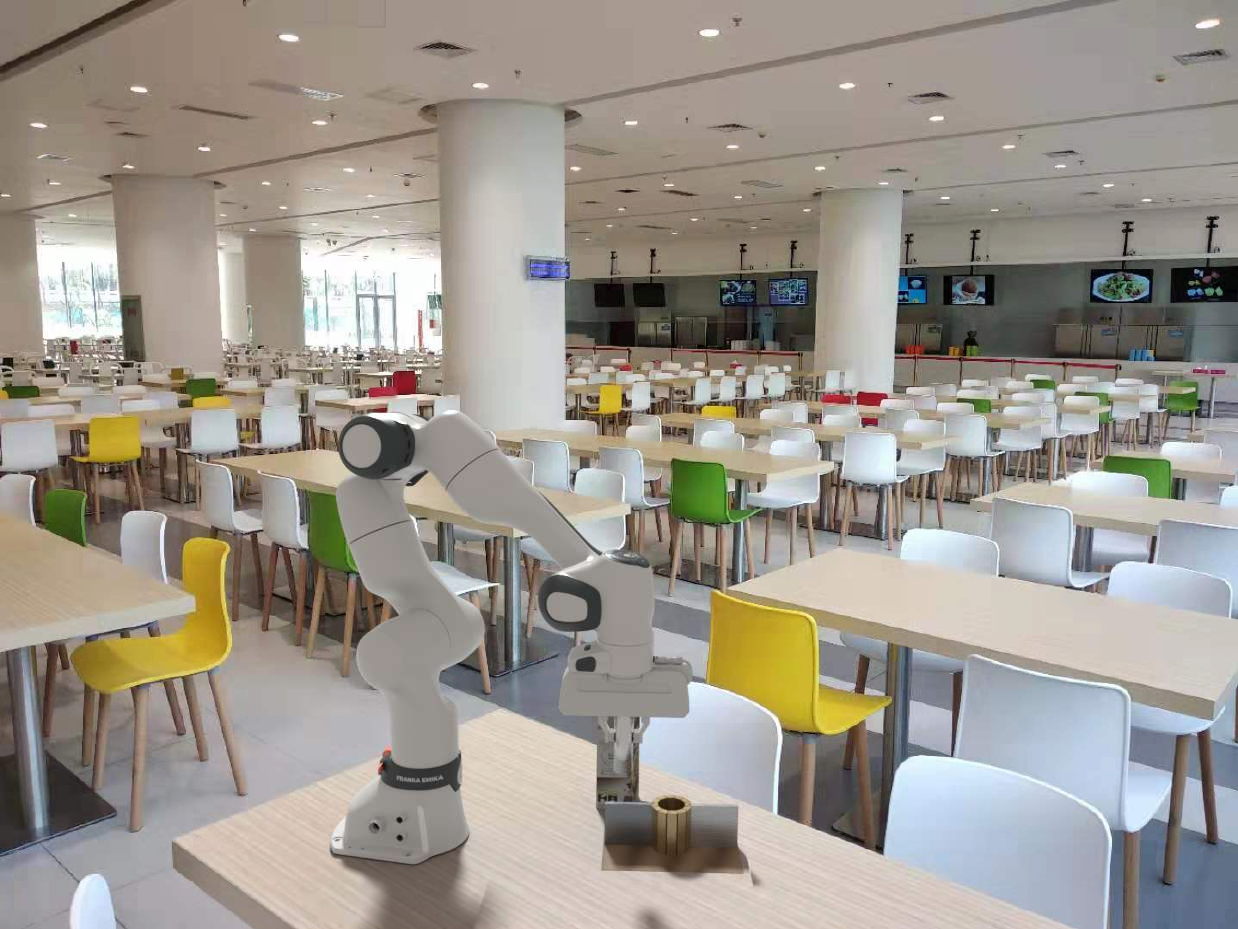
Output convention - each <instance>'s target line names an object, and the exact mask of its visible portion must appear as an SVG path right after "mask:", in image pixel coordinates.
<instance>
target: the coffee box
mask: <svg viewBox="0 0 1238 929" xmlns="http://www.w3.org/2000/svg"><path fill="white" fill-rule="evenodd" d="M640 723H641V717H634V729H639V727H640V725H641V724H640ZM607 724H608V726H609V728H614V716H607ZM596 731H597V732H596V736H597V739H596V786H595V787H596V788H595V789H596V790H595V791H596V792H595V796H596V799H595V808H596V809H600V810H605V801H607V802H638V799H639V797H640V796H639V794H640V790H639V789H640V744H639V743H633V771H632V772H631V773H629V774H618V773H615V772H614V743H605V733H604V731H603V730H602V728H601V726H600V725H599V724H598V726H597V730H596Z"/></svg>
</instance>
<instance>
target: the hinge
mask: <svg viewBox="0 0 1238 929" xmlns="http://www.w3.org/2000/svg"><path fill="white" fill-rule="evenodd" d="M604 831H605V841H604V840H603V841H604V845H643V846H651V847H652V848H653V849H654V850H655V851H656V852H658V853H661V854H664V855H666V854H667V855H680V854H683V853H685V852H687V851H688V850H689V849H690V848H691V847H727V848H737V842H738V836H739V835H738V834H739V832H738V831H739V804H735V803H733V804H727V803H726V804H725V803H692V802H691V801H690V800H689V799H687V798H686V797H684V796H680V795H676V794H663V795H660V796H656V797H654V799H652V800H651V802H649V801H647V802H643V801H640V802H639V801H634V802H607V801H605V809H604Z"/></svg>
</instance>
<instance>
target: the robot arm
mask: <svg viewBox="0 0 1238 929" xmlns="http://www.w3.org/2000/svg"><path fill="white" fill-rule="evenodd" d="M337 443H338V445H337V448H338V449H337V450H338V455H339V458H340V460H341V462H342V464H343V465H344V467H345V468H346V469H347V470H348V471H349V472H351V473H350V474H349V475H346V477H344V478H343V479H342V480H341V481H340V482H339V483H338V485H337V487H336V491H335V499H336V505H337V506H336V507H337V511H338V517H339V520H340V524H341V528H342V531H343V535H344V537H345V540H346V542H347V545H348V548H349V551H350V552H351V555H352V558H353V560H354V563H355V566H356V568H357V571H358V573H359V576H360V579H361V581H362V584H363V585H364V588H366V590H367V591H368V592H370V593H372V594H373V595H376V596H379V597H381V598H383V599H384V600H385V601H387V602H388V603H389V604H390V605H391V606H392V607H393V609H394V610H395V611H396V613H397V614H398V615H397V616H394V617H392V618H389V619H387V620H384V621H382V622H381V623H379V624H378V625H376V626H375V627H374V628H372V629H371V630H370V631H368V632H366V634H364V635H363V636H361V637H362V638H360V640H359V642H358V644H357V647H356V656H355V658H356V665H357V668H358V671H359V673H360V675H361V677H362V678H363V679H364V681H365V682H366V683H367V684H369V685H370V686H371V687H372V688H374V689H376V690H377V691H379V693H380V694H381V696H382V697H383V699H384V701H385V704H386V707H387V710H388V716H389V725H390V729H389V730H390V745H387V746H386V747H385V749H384V750H383V752H382V757H381V759H380V760H379V765H378V767H377V774H378V776H377V777H376V778H374V779H373V780H371V781H370V782H369V783H367V784H366V785H363V787H362V788H361V789H360V790H358V791H357V792H356V793H355V795H354V796H353V797H352V799H351V801H350V803H349V805H348V808H347V811H346V815H345V816H344V817H343V818H342V819H341V820H340V821H339V823H338V824H337V825H336V826H335V828H334V830H333V832H332V834H331V837H330V849H331V852H332V853H333V854H337V855H341V856H347V857H348V856H349V857H357V858H362V859H363V858H364V859H372V860H377V861H378V860H379V861H386V862H394V863H400V864H408V865H418V864H420V863H423V862H424V861H426V860H428V859H430V858H431V857H433V856H437V855H440V854H443V853H446V852H449V851H451V850H453V849H456V848H457V847H458V846H459V847H460V845H461V844H463V843H464V842H465V841H466V840H467V839H468V837H469V834H470V826H469V824H468V822H467V818H466V813H465V809H464V805H463V804H464V803H463V796H462V789H461V786H462V782H463V761H462V752H461V749H460V746H459V745H460V744H459V709H458V707H457V705H456V703H455V702H454V701H453V700H452V699H450V698H449V697H447V696H445V695H443V692H442V691H441V690H442V689H441V687H440V674H441V672H442V671H444V670H446V669H448V668H450V667H453V666H454V665H457V664H459V663H460V662H463V661H464V660H465V659H467V658H468V657H469V656H470V655H471V654H472V653H474V652H475V651H476V650H477V649H478V648H479V647H480V645H482V643H483V641H484V638H485V632H486V630H485V629H486V626H485V621H484V618H483V615H482V613H481V611H480V609H478V608H477V606H476V605H474V604H473V603H472V602H470V601H468V600H467V599H464V598H462V597H460V596H459V595H458V594H456V593H455V592H454V591H453V590H452V589H451V588H450V586H449V585H448V584H447V583H445V581H444V580H443V579H442V577H441V576H440V574H438V572H437V571H436V569H435V568H434V567H433V564H432V563H431V561H430V559H429V557H428V555H427V552H426V551H425V548H424V545H423V544H422V541H421V539H420V537H419V535H418V532H417V529H416V527H415V524H414V522H413V519H412V517H411V514H410V512H409V510H408V507H407V505H406V500H405V498H404V495H405V492H404V491H405V488H406V487H414V486H416V485H417V483H419V481H420V480H421V479H423V477H425V476H426V475H428V473H430V474H432V476H433V477H434V478H435V479H436V480H437V481H438V483H439V485H440V486H441V487H442V488H443V490H444V491H445V492H446V493H447V494H448V496H449V497H450V498H451V499H452V502H454V504H455V505H456V506H457V507H458V508H459V509H460V510H461V511H462V512H463V513H465V514H466V515H467V516H468V517H469V518H471V520H473V521H475V522H477V523H482V524H484V525H485V524H486V525H495V526H503V527H506V528H507V527H508V528H512V529H514V530H517V531H520V532H522V533H524V534H526V535H528V536H529V537H531V538H532V539H533V540H534V541H535V542H536V543H537V544H538V546H540V547H541V548H542V549H543V551H545V553H546V554H547V555H548V556H549V557H550V558H551V559H552V560H553V561H554V563H555V564H556V565H557V566H558V567H559V569H560V570H559V571H557V572H555V573H553V574H552V575H550V576H549V577H547V578H546V579H544V581H543V582H542V584H541V585H540V587H539V589H538V594H537V604H538V609H539V612H540V615H541V616H542V618H543V620H544V621H545V622H546V623H547V625H549V626H550V627H552V629H555V630H557V631H558V632H563V633H576V632H577V633H579V632H588V631H594V632H595V634H596V640H593V641H589V642H586V643H582V644H580V645H576V646H574V647H572V648H571V649H570V650H569V652H568V656H567V667H566V668H565V671H564V673H563V676H562V681H561V686H560V692H559V698H558V699H559V700H558V709H559V711H560V712H561V713H562V714H563V715H564V716H583V717H585V716H587V717H597V723H598V726H599V725H600V726H601V728H602V730H603V731H604V733H605V743H614V728H609V726H608V724H607V716H620V717H640V723H641V724H640V727H639V729H634V732H633V743H639V745H640V744H641V745H642V744H643V739H644V736H643V735H644V733H645V732H646V731H647V728H648V727H649V725H650V724H651V718H664V719H665V718H667V719H669V718H670V719H673V718H674V719H685V718H686V717H687V716H688V715H689V713H690V692H689V686H688V685H690V684H691V682H692V681H693V667H692V664H691V663H690V662H689V661H688V660H685V659H683V657H682V656H674V657H673V656H671V657H670V656H669V657H668V656H656V655H654V654H655V653H654V652H655V633H654V631H653V625H652V622H653V618H654V615H655V614H654V613H655V609H656V607H655V605H656V604H655V603H656V602H655V600H656V598H655V595H656V594H655V580H654V573H653V567H652V565H651V562H650V561H649V560H648V558H646V557H645V556H643V555H642V554H640V553H638V552H634V551H632V550H627V549H618V548H617V549H616V548H615V549H608V550H606V551H604V552H602V551H600V550H599V549H597V548H596V547H595V546H594V545H592V544H591V543H590V542H589V541H588V540H587V539H586V538H585V537H584V535H583V534H582V533H580V532H579V531H578V529H577V528H575V526H574V525H573V524H572V523H571V522H570V521H569V520H568V519H567V518H566V516H564V514H563V513H562V512H561V511H560V510H559V509H558V508H557V507H556V505H554V504H553V503H552V502H551V501H550V500H549V499H548V498H547V497H546V496H545V495H544V494H543V493H542V492H540V490H538V489H537V488H536V487H535V486H534V485H533V484H532V483H531V482H530V481H529V480H528V479H527V478H526V477H525V476H524V475H523V474H522V473H521V472H520V471H519V470H518V468H517V467H516V466H515V465H514V464H513V462H511V460H510V459H509V458H508V457H507V455H506V454H505V453H504V452H503V451H502V448H500V447H499V446H498V445H497V443H496V442H495V441H494V440H493V439H492V437H490V436H489V434H488V433H487V432H486V431H485V430H484V429H483V428H482V427H480V425H478V424H477V423H476V421H474V420H473V419H472V418H470V417H469V416H468V415H467V414H466V413H464V412H462V411H460V410H456V409H455V410H453V409H452V410H451V409H448V410H445V411H442V412H441V411H440V412H438V413H437V414H435V415H433V416H431V418H428V417H426V416H424V415H421V414H418V413H417V414H415V413H408V412H402V411H389V412H368V413H364V414H360V415H359V416H356V417H353V418H352V419H351V420H349V421H348V422H347V423H346V424H345V425H344V427H343V428H342V430H341V432H340V434H339V437H338V442H337Z"/></svg>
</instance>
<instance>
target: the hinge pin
mask: <svg viewBox="0 0 1238 929" xmlns="http://www.w3.org/2000/svg"><path fill="white" fill-rule="evenodd" d="M633 732H634V717H620V716H614V772H615V773H618V774H629V773H631V772H632V771H633Z"/></svg>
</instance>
